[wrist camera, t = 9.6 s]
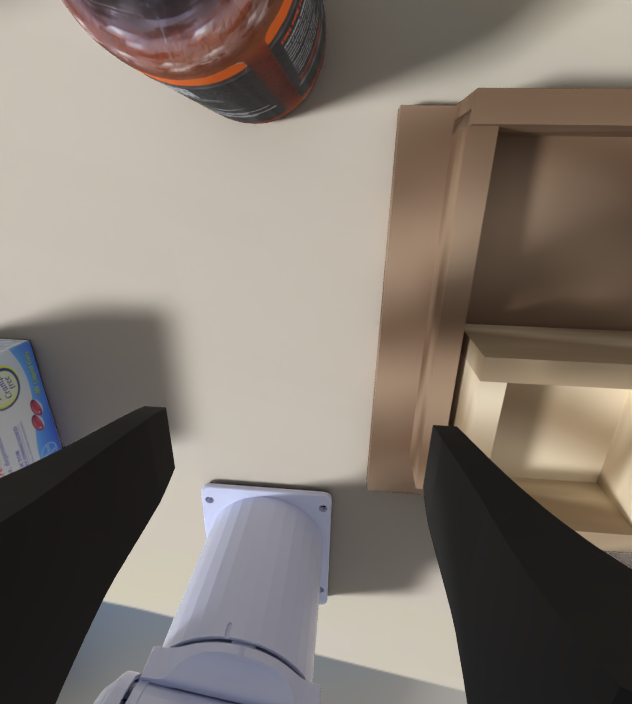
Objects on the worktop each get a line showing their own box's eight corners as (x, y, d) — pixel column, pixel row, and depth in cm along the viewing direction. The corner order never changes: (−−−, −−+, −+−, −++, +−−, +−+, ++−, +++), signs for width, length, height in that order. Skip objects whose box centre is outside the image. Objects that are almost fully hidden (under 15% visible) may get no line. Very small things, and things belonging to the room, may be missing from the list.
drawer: (588, 535, 23) (692, 688, 16) (425, 522, 23) (457, 664, 16) (663, 332, 18) (857, 423, 11) (458, 323, 19) (521, 404, 12)
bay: (650, 498, 23) (707, 559, 19) (366, 478, 24) (369, 531, 20) (816, 113, 16) (960, 90, 12) (398, 109, 17) (411, 87, 13)
